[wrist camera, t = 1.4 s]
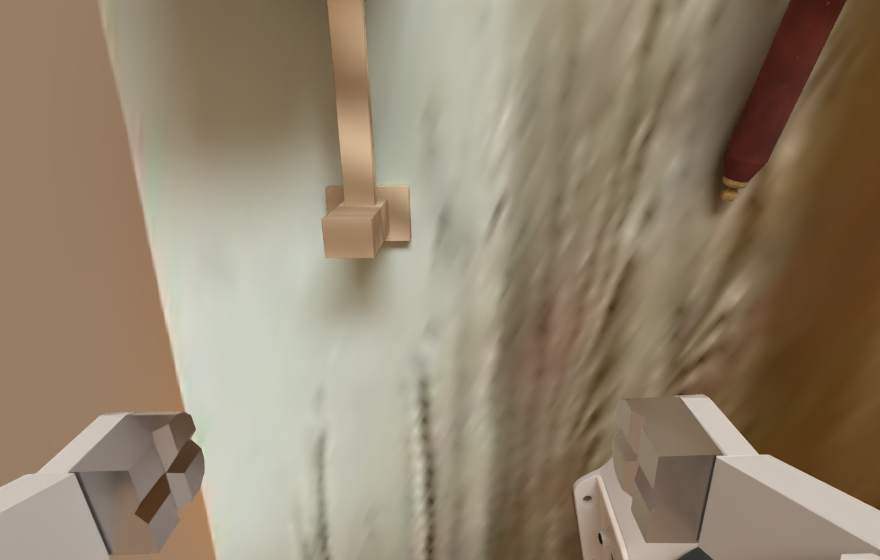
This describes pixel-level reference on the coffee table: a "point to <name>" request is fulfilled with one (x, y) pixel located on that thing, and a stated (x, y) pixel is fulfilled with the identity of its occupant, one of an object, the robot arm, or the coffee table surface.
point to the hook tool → (358, 150)
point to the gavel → (777, 89)
